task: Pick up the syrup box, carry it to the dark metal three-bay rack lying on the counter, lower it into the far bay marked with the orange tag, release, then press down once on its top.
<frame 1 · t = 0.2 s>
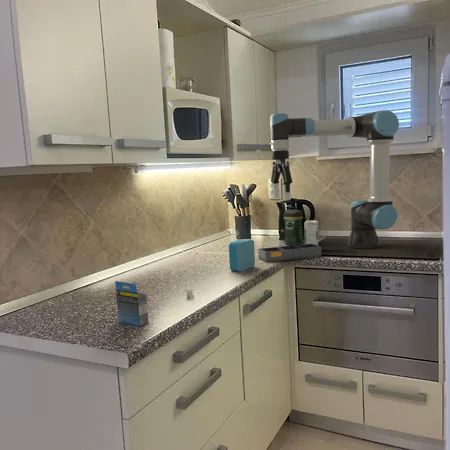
hand: (281, 199, 202), 28 cm above the counter, tool pointing down, fingers open, 13 cm apart
adhesive hook: (187, 300, 154), on the counter
syrup box: (311, 250, 226), on the counter
coffee jar: (294, 244, 244), on the counter
rack: (289, 257, 212), on the counter
label tape cartridge: (133, 323, 133), on the counter
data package: (242, 269, 193), on the counter
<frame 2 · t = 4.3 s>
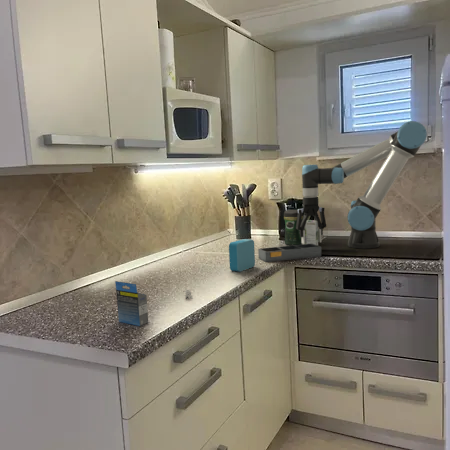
hand: (311, 242, 226), 4 cm above the counter, tool pointing down, fingers closed on syrup box, 8 cm apart
syrup box: (311, 250, 226), on the counter, touching gripper
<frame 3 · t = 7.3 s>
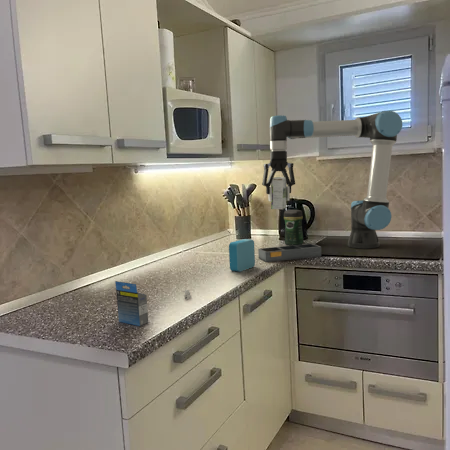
hand: (278, 200, 210), 26 cm above the counter, tool pointing down, fingers closed on syrup box, 8 cm apart
syrup box: (279, 209, 211), point 22 cm above the counter, touching gripper
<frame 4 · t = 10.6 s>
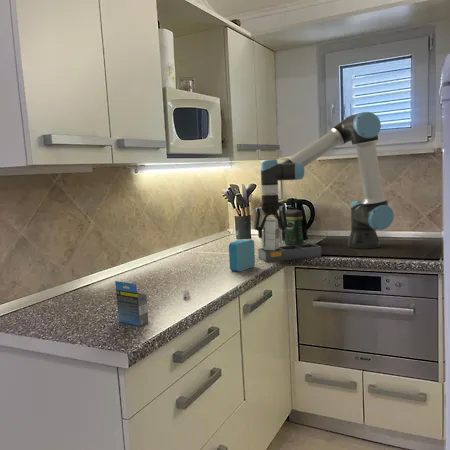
hand: (271, 244, 209), 7 cm above the counter, tool pointing down, fingers closed on syrup box, 8 cm apart
syrup box: (271, 250, 209), point 4 cm above the counter, touching gripper, rack
when the fingers open (7 cm above the counter, at t = 11.2 s): syrup box drops 1 cm, resting on rack.
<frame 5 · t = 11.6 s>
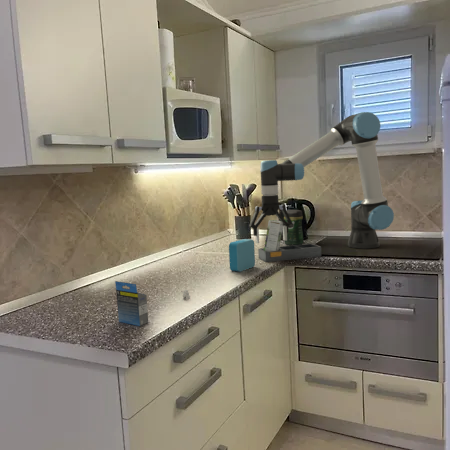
hand: (271, 241, 209), 8 cm above the counter, tool pointing down, fingers open, 13 cm apart
syrup box: (271, 252, 209), point 3 cm above the counter, touching rack
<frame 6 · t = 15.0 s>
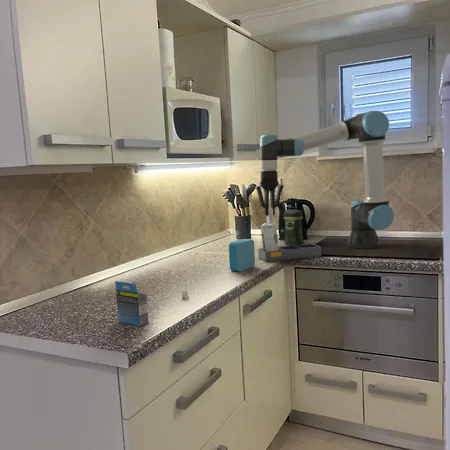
hand: (270, 222, 207), 17 cm above the counter, tool pointing down, fingers closed
syrup box: (272, 255, 210), point 2 cm above the counter, touching gripper, rack
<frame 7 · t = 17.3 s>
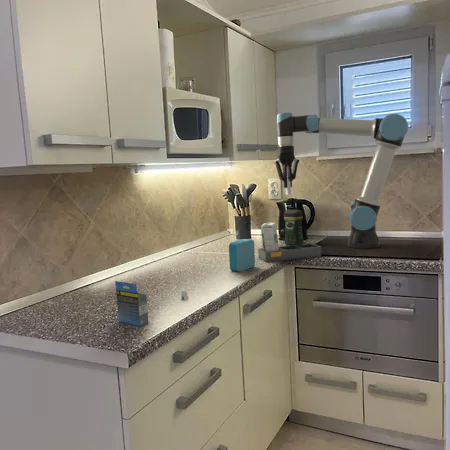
hand: (288, 194, 224), 28 cm above the counter, tool pointing down, fingers closed
syrup box: (272, 255, 210), point 2 cm above the counter, touching rack
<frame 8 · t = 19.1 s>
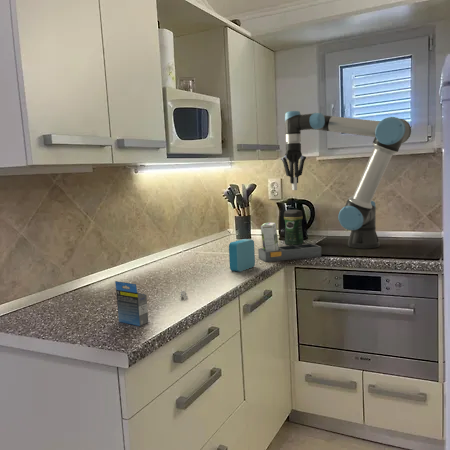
hand: (294, 189, 233), 29 cm above the counter, tool pointing down, fingers closed
at the end: syrup box 0.3 cm from the target spot on the rack, point 1.8 cm above the rack's base; syrup box tilted 7°; the gripper is holding nothing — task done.
